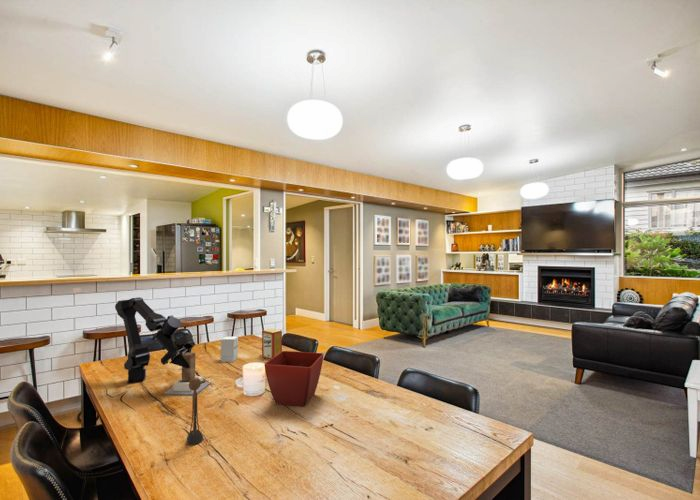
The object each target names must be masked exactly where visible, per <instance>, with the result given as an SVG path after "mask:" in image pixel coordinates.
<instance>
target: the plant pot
mask: <svg viewBox="0 0 700 500" xmlns="http://www.w3.org/2000/svg"><path fill="white" fill-rule="evenodd" d="M323 362H324V353H321V352H307V351H292V350H291V351H290V350H282V352H280V353H279V354H277V355H276V356H275V357H273V358H272V359H271V360H268V361H266V362H264V371H265V375H266V380H267V383H268V387H269V390H270V393H271V395H272V399H273V401H274V404H276V405H282V406H283V405H284V406H291V407H292V406H293V407H307V405H308V404H309V402H310V401H311V400H312V398H313V397H314V395H315V393H316V391H317V388H318V384H319V380H320V376H321V372H322V367H323Z"/></svg>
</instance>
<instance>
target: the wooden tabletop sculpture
mask: <svg viewBox="0 0 700 500" xmlns="http://www.w3.org/2000/svg"><path fill="white" fill-rule="evenodd" d="M205 382H207V381H206V379H205V378H203V380H200V379H199V378H193V379H192V380H191V381H190V382H189V388H190V390H194V393H192V395H191V398H192V404H191V405H192V406H191V409H192V411H191V424H190V430H189V433H188V434H187V437H186V441H185V442H186V444H187V445H189V446H194V445H198V444H200V443H202V442H203V440H204V434H203V433H202V431H201V430H200V425H199V417H198V413H199V412H198V394H199V393H197V392H196V390H197V389H199V387H200V385H201V384H202V383H205Z"/></svg>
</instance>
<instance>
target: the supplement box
mask: <svg viewBox="0 0 700 500" xmlns="http://www.w3.org/2000/svg"><path fill="white" fill-rule="evenodd" d="M237 359H239V336H224V337H223V338H221V339H220V363H234V362H235V361H236V360H237Z"/></svg>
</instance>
